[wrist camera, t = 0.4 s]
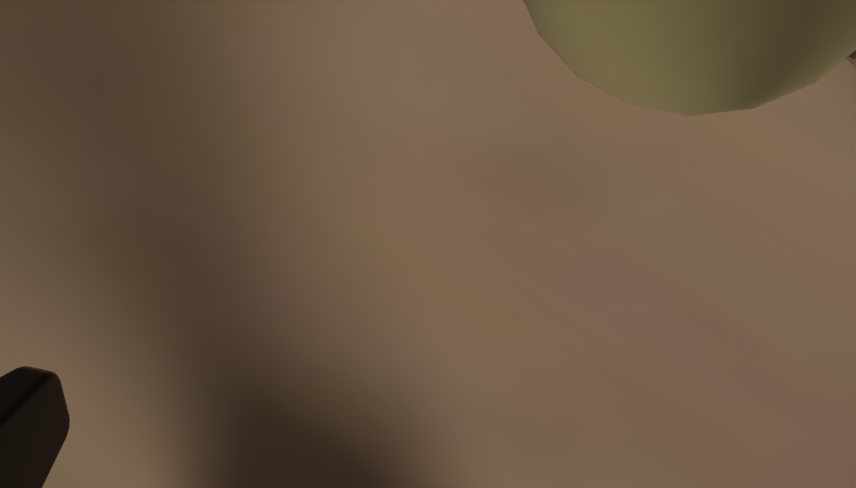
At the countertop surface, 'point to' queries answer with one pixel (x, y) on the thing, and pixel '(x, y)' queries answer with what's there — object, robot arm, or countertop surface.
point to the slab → (852, 58)
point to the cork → (698, 48)
